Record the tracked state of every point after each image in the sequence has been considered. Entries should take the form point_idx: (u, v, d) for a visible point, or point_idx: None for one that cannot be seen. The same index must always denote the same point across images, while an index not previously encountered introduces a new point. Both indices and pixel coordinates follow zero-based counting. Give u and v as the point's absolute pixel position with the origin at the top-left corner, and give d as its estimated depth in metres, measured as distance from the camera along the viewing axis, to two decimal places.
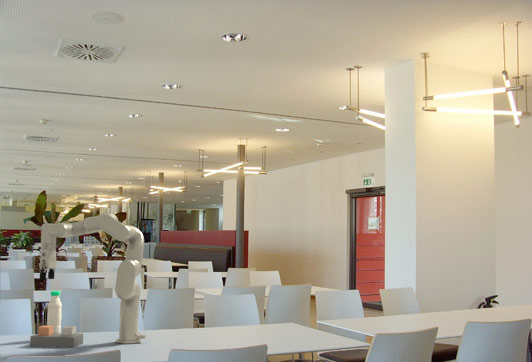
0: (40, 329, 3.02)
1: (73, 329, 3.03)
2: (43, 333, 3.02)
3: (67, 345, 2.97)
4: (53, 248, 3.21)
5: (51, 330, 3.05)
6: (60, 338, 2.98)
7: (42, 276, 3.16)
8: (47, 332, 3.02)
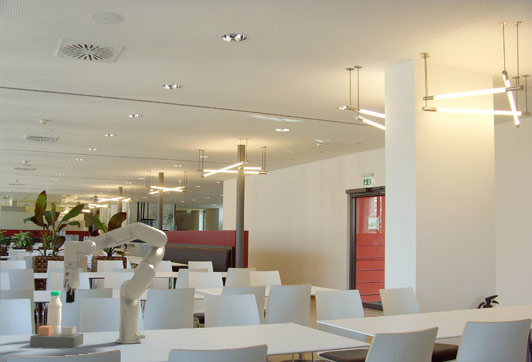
0: (40, 329, 3.02)
1: (73, 329, 3.03)
2: (43, 333, 3.02)
3: (67, 345, 2.97)
4: (77, 267, 3.05)
5: (51, 330, 3.05)
6: (60, 338, 2.98)
7: (68, 298, 3.03)
8: (47, 332, 3.02)
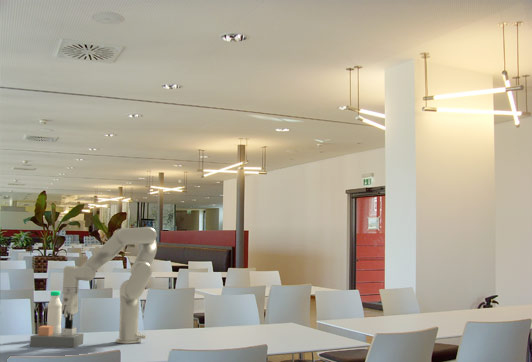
0: (40, 329, 3.02)
1: (73, 330, 3.03)
2: (43, 333, 3.02)
3: (67, 345, 2.97)
4: (76, 292, 3.04)
5: (51, 330, 3.05)
6: (60, 338, 2.98)
7: (67, 324, 3.02)
8: (47, 332, 3.02)
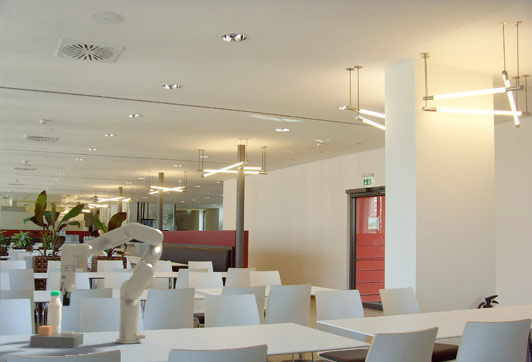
0: (40, 329, 3.02)
1: (73, 334, 3.02)
2: (43, 333, 3.02)
3: (67, 345, 2.97)
4: (73, 270, 3.05)
5: (51, 330, 3.05)
6: (60, 338, 2.98)
7: (65, 302, 3.04)
8: (47, 332, 3.02)
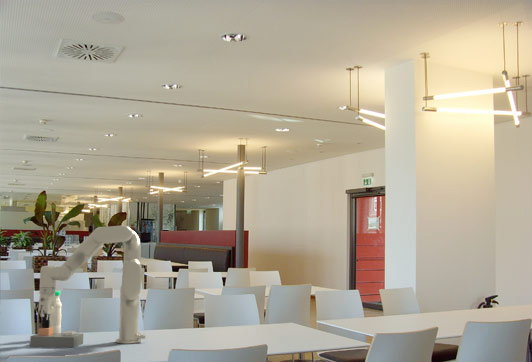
0: (40, 330, 3.02)
1: (73, 334, 3.02)
2: (43, 335, 3.02)
3: (67, 345, 2.97)
4: (52, 292, 3.05)
5: (51, 331, 3.05)
6: (60, 338, 2.98)
7: (44, 324, 3.04)
8: (47, 333, 3.02)
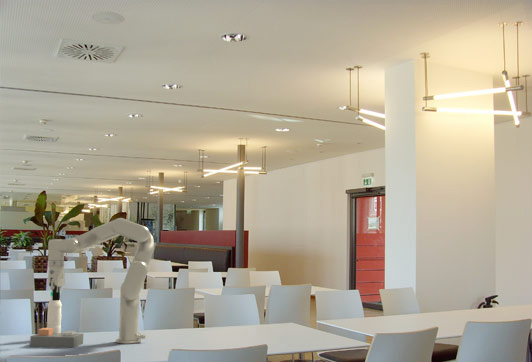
0: (40, 331, 3.02)
1: (73, 334, 3.02)
2: None
3: (67, 345, 2.97)
4: (61, 265, 3.08)
5: (51, 332, 3.05)
6: (60, 338, 2.98)
7: (55, 296, 3.07)
8: (47, 334, 3.02)
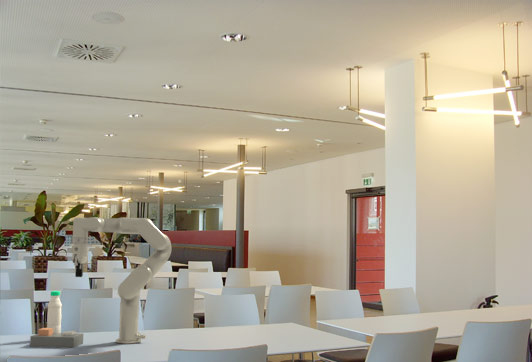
0: (40, 331, 3.02)
1: (73, 334, 3.02)
2: None
3: (67, 345, 2.97)
4: (85, 242, 3.16)
5: (51, 332, 3.05)
6: (60, 338, 2.98)
7: (78, 273, 3.15)
8: (47, 334, 3.02)
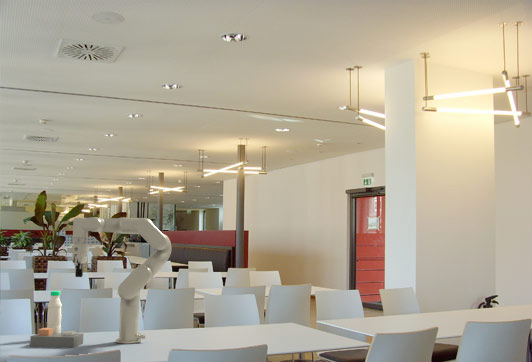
0: (40, 331, 3.02)
1: (73, 334, 3.02)
2: None
3: (67, 345, 2.97)
4: (85, 242, 3.16)
5: (51, 332, 3.05)
6: (60, 338, 2.98)
7: (78, 273, 3.15)
8: (47, 334, 3.02)
